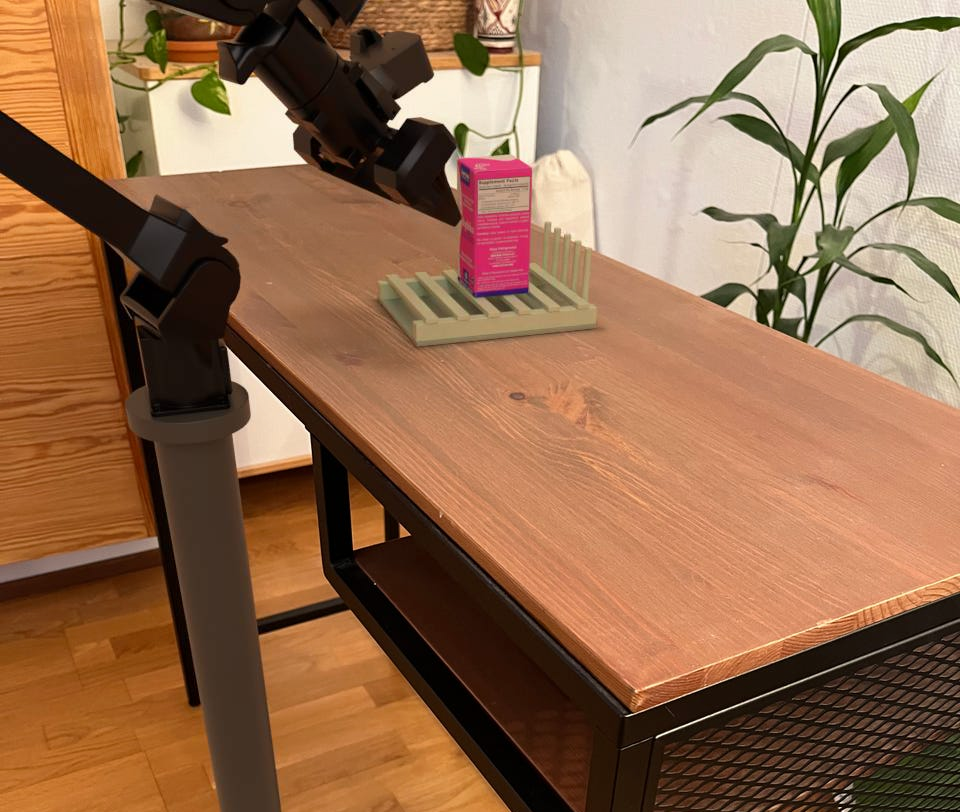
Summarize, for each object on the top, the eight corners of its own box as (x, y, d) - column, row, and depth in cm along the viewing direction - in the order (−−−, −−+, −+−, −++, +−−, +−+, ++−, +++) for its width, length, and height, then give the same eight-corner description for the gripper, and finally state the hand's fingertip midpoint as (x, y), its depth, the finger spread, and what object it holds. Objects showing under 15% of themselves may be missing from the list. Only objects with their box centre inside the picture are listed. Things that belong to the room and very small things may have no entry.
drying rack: (416, 346, 94) (415, 268, 90) (377, 300, 105) (375, 228, 101) (596, 328, 99) (602, 253, 95) (541, 285, 110) (545, 216, 106)
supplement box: (454, 281, 102) (455, 156, 96) (511, 277, 104) (515, 153, 97) (472, 299, 98) (474, 169, 91) (530, 294, 100) (536, 166, 93)
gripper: (436, 2, 74) (547, 155, 86) (315, -17, 86) (426, 119, 98) (345, 131, 75) (467, 265, 87) (238, 94, 87) (357, 216, 99)
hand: (429, 210), depth 93 cm, fingers open, 9 cm apart
